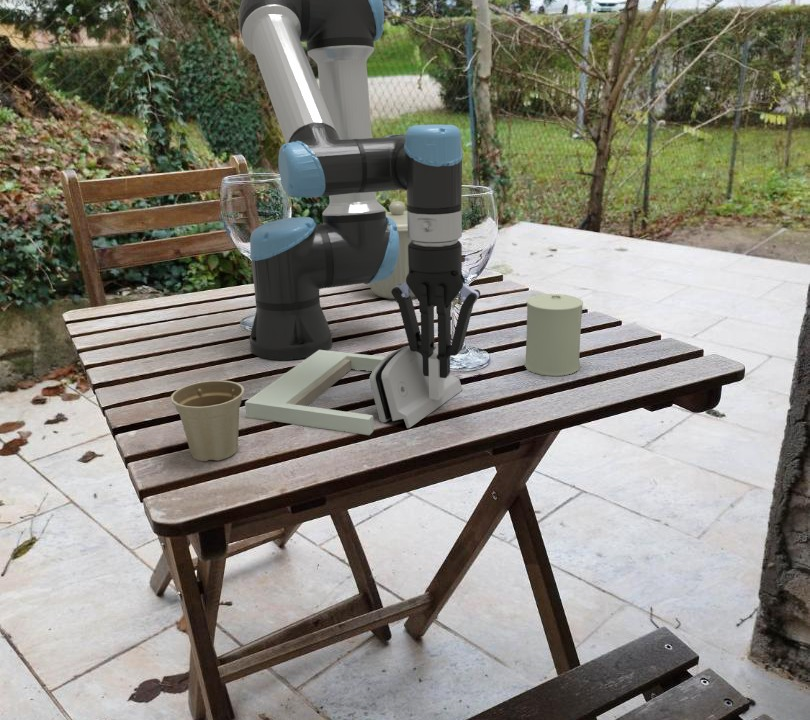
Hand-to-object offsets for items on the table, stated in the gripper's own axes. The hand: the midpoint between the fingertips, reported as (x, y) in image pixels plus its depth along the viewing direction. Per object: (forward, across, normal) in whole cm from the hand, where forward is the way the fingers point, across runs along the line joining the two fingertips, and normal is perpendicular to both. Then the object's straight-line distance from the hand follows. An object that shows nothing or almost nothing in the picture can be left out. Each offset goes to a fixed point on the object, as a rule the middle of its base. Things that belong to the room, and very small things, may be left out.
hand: (436, 395), depth 115 cm
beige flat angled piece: (+2, -16, 0) cm, 16 cm away
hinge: (+2, -3, 0) cm, 4 cm away
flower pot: (+2, -24, -23) cm, 33 cm away
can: (+2, +13, +22) cm, 26 cm away
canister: (+2, -28, +58) cm, 65 cm away
